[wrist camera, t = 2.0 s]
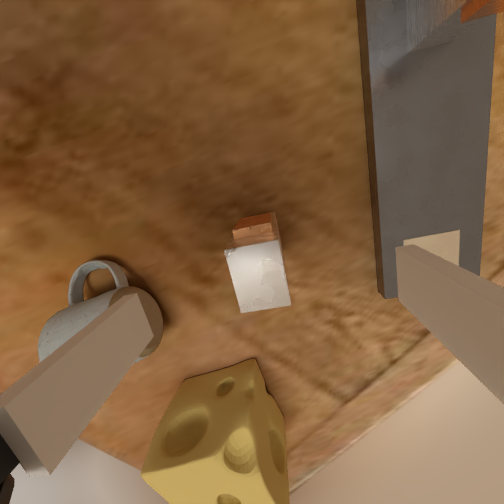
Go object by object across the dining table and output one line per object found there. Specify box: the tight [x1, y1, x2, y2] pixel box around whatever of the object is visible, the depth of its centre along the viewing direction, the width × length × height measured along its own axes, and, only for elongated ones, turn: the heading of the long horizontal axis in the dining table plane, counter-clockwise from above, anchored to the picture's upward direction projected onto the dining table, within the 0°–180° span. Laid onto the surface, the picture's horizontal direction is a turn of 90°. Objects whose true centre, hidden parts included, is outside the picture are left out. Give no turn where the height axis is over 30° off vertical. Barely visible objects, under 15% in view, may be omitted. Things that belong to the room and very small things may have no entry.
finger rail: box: [356, 0, 504, 299], centre depth 14 cm, size 24×8×12 cm, turn 13°
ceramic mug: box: [38, 260, 163, 363], centre depth 23 cm, size 11×8×8 cm
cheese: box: [141, 359, 289, 504], centre depth 25 cm, size 10×11×10 cm
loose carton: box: [224, 211, 291, 313], centre depth 18 cm, size 5×3×10 cm, turn 13°
